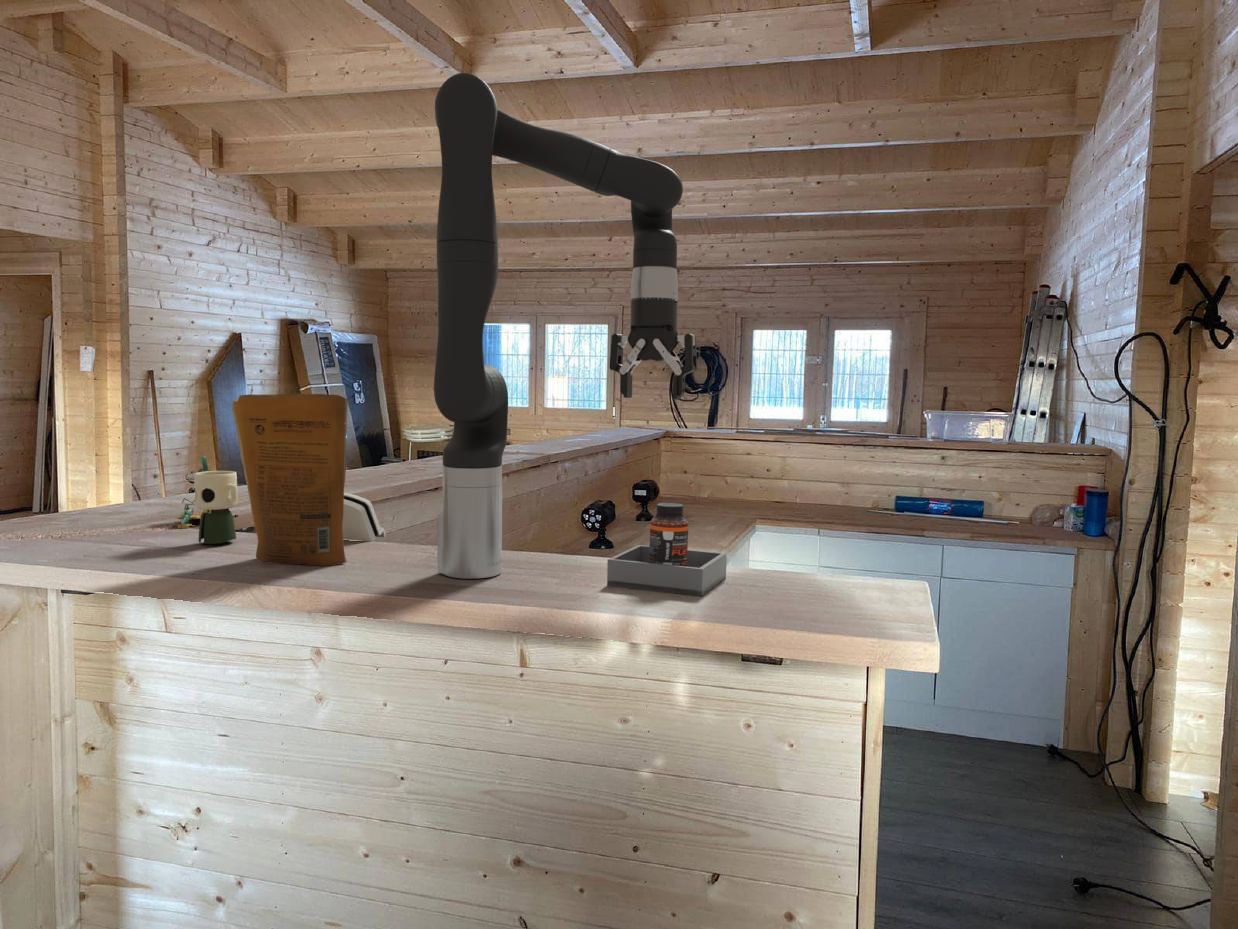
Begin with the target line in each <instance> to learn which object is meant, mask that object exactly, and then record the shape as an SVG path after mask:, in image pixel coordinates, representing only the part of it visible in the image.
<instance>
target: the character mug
mask: <svg viewBox="0 0 1238 929" xmlns="http://www.w3.org/2000/svg"><path fill="white" fill-rule="evenodd" d="M193 474H194V475H193V477H194V479H193V480H194V482H193V488H194V493H195V494H194V500H195V501H194V500H193V501H194V502H193V503H194V504H195V505H194V506H195V507H196V509H200V510H202V515H201V519H200V520H199V527H198V543H202V540H203V543H204V544H207V545H208V544H210V545H211V544H220V545H224V544H225V543H226V542H229V541H233V540H236V539H237V534H236V527H235V522H234V516H233V515H232V511H231V510H230V509H232V508H235V507H237V505H238V476H237V471H233V470H222V471H218V470H211V471H205V472H198V471H197V472H194V473H193Z"/></svg>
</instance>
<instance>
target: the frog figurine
mask: <svg viewBox="0 0 1238 929" xmlns="http://www.w3.org/2000/svg"><path fill="white" fill-rule="evenodd" d="M200 460H201V464H202V467H201V468H199V469H198V470H197V473H198V472H205V471H212V470H210V469H209V467H208V462H207V461H208V460H207V456H205V455H201V458H200ZM217 471H223V470H222V469H218V470H217ZM185 501H186V502H187V503H186V504H184V502H185ZM194 501H195V499H194V500H193V501H191V500H189V499H187V498H185V497H184V498H183V499H182V501H181V503H182V504H184V508H183V510H184V512H183V513H182V514H180V515H178V516H176V519H177V520H180V524H177V528H178V529H188V528H190V527H189V525H190V526H192V527H195V526H196V525H192V524H193V523H187V522H189V521H190V520H192V519H193V520H194V519H201V515H202V513H203V511H201V512H200V511H197V513H199V514H196V513H194V511H195V508H189V506H192V505H194V506H195V502H194Z"/></svg>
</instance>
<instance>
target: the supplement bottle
mask: <svg viewBox="0 0 1238 929" xmlns="http://www.w3.org/2000/svg"><path fill="white" fill-rule="evenodd" d="M683 513H684V505H683V504H681V503H675V502H660V503H657V504H656V514H655V516H654V517H653V518H651V520H650V522H649V523H650V524H649V544H648V546H649V563H657V564H666V565H676V566H686V567H687V549H688V550H689V548H688V545H689V544H688V543H689V542H688V541H689V521H688V520H687V519H686V518H685V516H684V515H683Z"/></svg>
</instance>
